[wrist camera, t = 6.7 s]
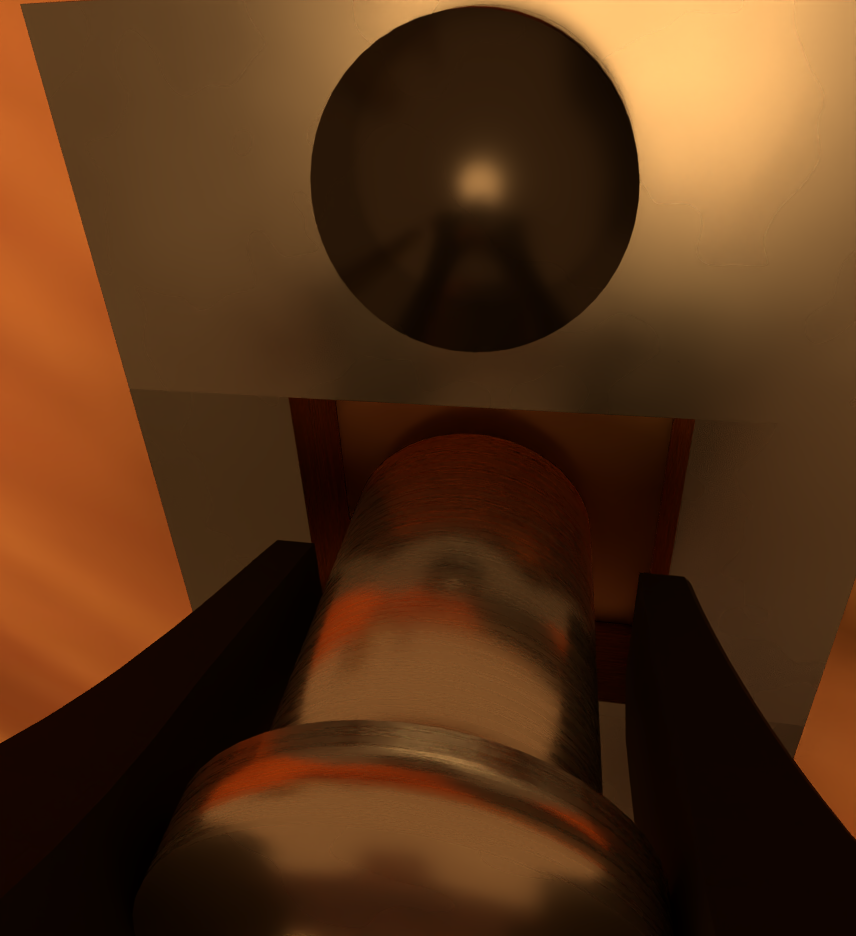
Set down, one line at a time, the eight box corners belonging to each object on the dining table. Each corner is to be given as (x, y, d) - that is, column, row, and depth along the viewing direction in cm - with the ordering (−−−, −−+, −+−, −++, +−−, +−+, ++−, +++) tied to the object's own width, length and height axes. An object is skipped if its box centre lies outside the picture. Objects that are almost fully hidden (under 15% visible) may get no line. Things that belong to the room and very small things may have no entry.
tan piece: (734, 800, 17) (756, 938, 15) (278, 737, 19) (231, 849, 17) (982, -44, 9) (1132, -51, 6) (109, -2, 11) (-38, 6, 8)
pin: (611, 655, 14) (644, 1135, 8) (337, 631, 15) (191, 1056, 9) (646, 407, 11) (734, 874, 5) (306, 392, 12) (64, 789, 6)
